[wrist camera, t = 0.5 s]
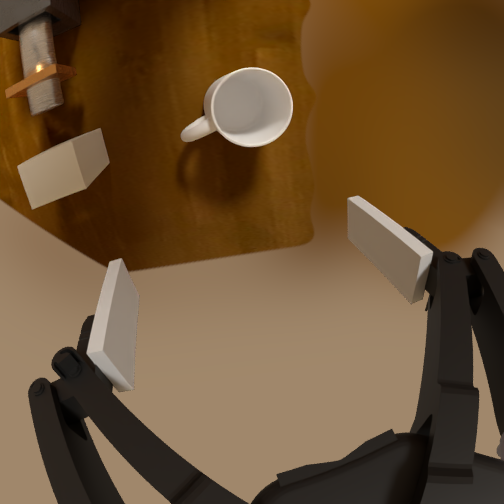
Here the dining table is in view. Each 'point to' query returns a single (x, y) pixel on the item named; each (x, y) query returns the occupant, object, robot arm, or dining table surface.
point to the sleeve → (32, 4)
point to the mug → (244, 108)
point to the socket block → (64, 168)
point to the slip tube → (40, 66)
